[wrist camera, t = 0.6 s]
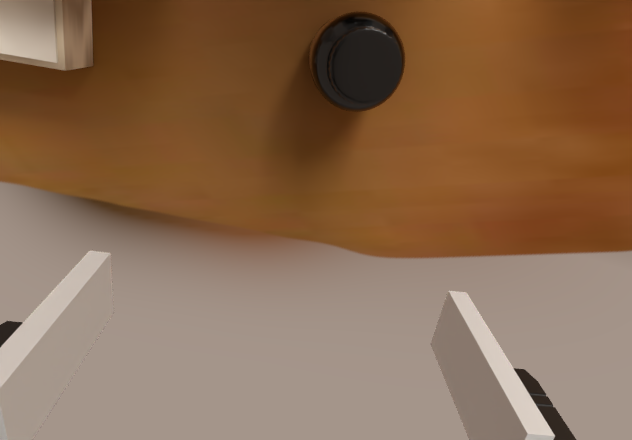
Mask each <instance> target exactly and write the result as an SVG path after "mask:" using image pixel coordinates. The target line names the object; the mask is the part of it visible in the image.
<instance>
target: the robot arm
mask: <svg viewBox="0 0 632 440" xmlns="http://www.w3.org/2000/svg"><path fill="white" fill-rule="evenodd" d="M113 313H114V307H113V287H112V268H111V253H107V252H98V251H89V252H88V253H87V254H86V255H85V256H84V257H83V258H82V259H81V260H80V261H79V263H78V264H77V265H76V266H75V267H74V268H73V269H72V270H71V271H70V272H69V273H68V275H67V276H66V277H65V278H64V279H63V280H62V281H61V282H60V283H59V284H58V286H56V287H55V289H54V290H53V291H52V292H51V293H50V294H49V295H48V296H47V297H46V298H45V299H44V301H43V302H42V303H41V304H40V305H39V306H38V307H37V308H36V309H35V310H34V311H33V312H32V314H31V315H30V316H29V317H28V318H27V319H26V320H25V321H24V322H23V323H22V322H12V321H7V322H5V323H3V324H1V325H0V440H33V439H34V437H35V436H36V434H37V432H38V431H39V429H40V428H41V426H42V425H43V423H44V421H45V420H46V418H47V417H48V415H49V414H50V412H51V410H52V409H53V407H54V406H55V404H56V403H57V401H58V400H59V398H60V396H61V395H62V393H63V392H64V390H65V389H66V387H67V385H68V384H69V382H70V381H71V379H72V378H73V376H74V374H75V373H76V371H77V370H78V368H79V367H80V365H81V364H82V362H83V360H84V359H85V357H86V356H87V354H88V352H89V351H90V349H91V348H92V346H93V345H94V343H95V342H96V340H97V338H98V337H99V335H100V334H101V332H102V330H103V329H104V327H105V326H106V324H107V323H108V321H109V320H110V318H111V317H112V315H113ZM431 347H432V349H433V351H434V354H435V356H436V359H437V361H438V364H439V366H440V369H441V371H442V374H443V376H444V379H445V381H446V383H447V386H448V388H449V391H450V393H451V396H452V398H453V401H454V403H455V406H456V408H457V411H458V413H459V415H460V418H461V420H462V422H463V425H464V427H465V430H466V433H467V435H468V438H469V440H576V439H575V437H574V436H573V434H572V433H571V431H570V430H569V428H568V427H567V425H566V424H565V422H564V421H563V419H562V418H561V416H560V415H559V413H558V411H557V410H556V408H554V407H553V404H552V402H551V401H550V399H549V398H548V397H546V393H545V392H544V391H543V389H542V388H541V386H540V384H539V383H538V381H537V380H536V379H534V378H533V377H532V376H531V375H530V374H529V373H528V372H527V371H526V370H524V369H515V368H513V367H512V366H511V364H510V362H509V361H508V359H507V357H506V356H505V354H504V352H503V351H502V349H501V348H500V346H499V344H498V343H497V341H496V339H495V338H494V336H493V335H492V333H491V331H490V330H489V328H488V327H487V325H486V323H485V322H484V320H483V319H482V317H481V315H480V314H479V312H478V310H477V309H476V307H475V306H474V304H473V302H472V301H471V299H470V297H469V296H468V294H467V293H466V292H457V291H448V293H447V296H446V300H445V302H444V305H443V308H442V311H441V315H440V317H439V320H438V324H437V326H436V330H435V332H434V336H433V339H432V342H431Z"/></svg>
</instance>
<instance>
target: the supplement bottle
mask: <svg viewBox="0 0 632 440" xmlns="http://www.w3.org/2000/svg"><path fill="white" fill-rule="evenodd" d="M309 67H310V71H311V74H312V77H313V80H314V82H315V85H316V87H317V88H318V90H319V91H320V93H321V94H322V96H323V97H324V98H325V99H326V100H327V101H329V102H330V103H331V104H333V105H334V106H336V107H338V108H340V109H343V110H346V111H353V112H360V111H366V110H370V109H373V108H375V107H377V106H379V105H381V104H382V103H384V102H385V101H386V100H387V99H389V98H390V97H391V95H392V94H393V93H394V92H395V90H396V89H397V87H398V86H399V84H400V81H401V79H402V76H403V73H404V67H405V52H404V47H403V44H402V41H401V38H400V36H399V35H398V33H397V31H396V30H395V29H394V27H393V26H392V25H391V24H390V23H389V22H387V21H386V20H385V19H383V18H381V17H380V16H377V15H375V14H372V13H367V12H351V13H347V14H344V15H341V16H339V17H337V18H334V19H332V20H330V21H329V22H327V23H326V24H325V25H323V26H322V27H321V28H320V29H319V31H318V32H317V33H316V35H315V36H314V38H313V40H312V43H311V46H310V50H309Z"/></svg>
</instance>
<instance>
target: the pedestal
mask: <svg viewBox="0 0 632 440" xmlns="http://www.w3.org/2000/svg"><path fill="white" fill-rule="evenodd" d="M0 60H6V61H12V62H18V63H24V64H30V65H35V66H41V67H47V68H53V69H59V70H65V71H66V70H72V69H79V68H85V67H91V66H93V38H92V0H0Z"/></svg>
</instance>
